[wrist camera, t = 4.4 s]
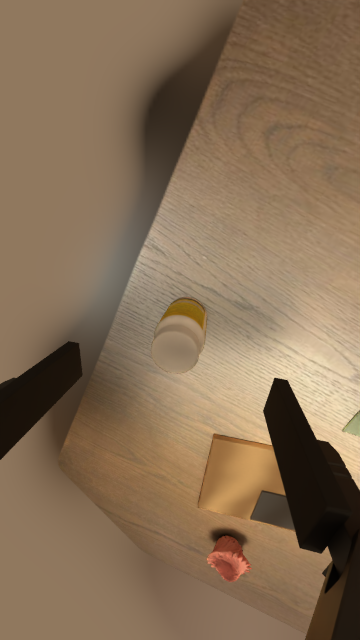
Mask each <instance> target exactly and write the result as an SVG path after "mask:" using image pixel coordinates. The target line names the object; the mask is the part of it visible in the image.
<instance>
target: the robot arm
mask: <svg viewBox="0 0 360 640" xmlns="http://www.w3.org/2000/svg"><path fill="white" fill-rule="evenodd" d="M81 376H82V368H81V358H80V349H79V343H75V342H67V343H66V344H64V345H63V346H62V347H60V348H59V349H57V350H56V351H54V352H53V353H52V354H50V355H49V356H47V357H46V358H44V359H43V360H42V361H40V362H39V363H38V364H36V365H35V366H33V367H32V368H31V369H29V370H27V371H26V372H25V373H23V374H22V375H20V376H19V377H18V378H12V379H10V380H7V381H5V382H3V383H1V384H0V460H1V459H2V458H3V457H4V456H5V455H6V454H7V452H8V451H9V450H10V449H11V448H12V447H13V446H14V445H15V444H16V443H17V442H18V441H19V440H20V439H21V438H22V437H23V436H24V435H25V434H26V433H27V432H28V431H29V430H30V429H31V428H32V427H33V426H34V425H35V424H36V423H37V422H38V421H39V420H40V419H41V417H43V415H44V414H45V413H46V412H47V411H48V410H49V409H50V408H51V407H52V406H53V405H54V404H55V403H56V402H57V401H58V400H59V399H60V398H61V397H62V396H63V395H64V394H65V393H66V392H67V391H68V390H69V389H70V388H71V387H72V386H73V385H74V384H75V383H76V382H77V380H78V379H79V378H80V377H81ZM263 412H264V416H265V419H266V423H267V427H268V431H269V434H270V438H271V442H272V446H273V449H274V453H275V457H276V461H277V464H278V468H279V472H280V476H281V479H282V483H283V487H284V491H285V494H286V498H287V502H288V506H289V509H290V513H291V517H292V521H293V524H294V528H295V532H296V536H297V539H298V543H299V547H300V548H302V549H306V550H309V551H313V552H317V553H321V554H322V552H323V551H324V550H325V548H326V547H327V546H328V549H329V551H330V554H331V557H332V562H331V563H330V564H329V565H328V566H327V568H326V569H325V570H324V571H323V573H322V574H323V575H324V576H325V580H324V583H323V586H322V589H321V593H320V596H319V599H318V602H317V605H316V608H315V611H314V614H313V617H312V620H311V623H310V626H309V629H308V632H307V635H306V639H305V640H360V490H359V489H358V487H357V485H356V483H355V482H354V480H353V479H352V476H351V474H350V473H349V471H348V469H347V468H346V466H345V464H344V462H343V460H342V458H341V457H340V455H339V453H338V452H337V451H336V450H335V449H334V448H333V447H332V446H331V445H330V444H329V442H326V441H321V440H317V439H316V437H315V435H314V433H313V431H312V429H311V427H310V425H309V423H308V421H307V419H306V417H305V415H304V413H303V411H302V409H301V407H300V405H299V403H298V401H297V399H296V397H295V395H294V393H293V391H292V389H291V387H290V384H289V382H288V380H284V379H278V378H274V381H273V384H272V387H271V390H270V393H269V395H268V398H267V401H266V404H265V407H264V410H263Z"/></svg>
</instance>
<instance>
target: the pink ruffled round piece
mask: <svg viewBox="0 0 360 640" xmlns="http://www.w3.org/2000/svg"><path fill="white" fill-rule="evenodd" d="M242 552H243V550H242V546H240V545H239V544H238V542H237V539H234V538H232V536H226V535H225V536H222V538H219V539H218V541H217V542H216V545H215V547H214V550H213V552H212V553H211V554H209V555H208V556H209V557H208V558H207V559H206V560H209V561H208V562H207V563H208V564H212V565H211V567H216V571H219V572H218V573H219V574H221V576H222V578H224V580H226V581H228V582H234V581H236V580H237V579H238V578H239V577H240V575H241V574H245V573H244V572H250V571H248V570H247V569H252V568H250V567H249V566H248V565H251V564H249V563H248V560H247V559H246V558H245V556H244V555H243V553H242Z"/></svg>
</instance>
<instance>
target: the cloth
mask: <svg viewBox="0 0 360 640" xmlns="http://www.w3.org/2000/svg"><path fill="white" fill-rule="evenodd" d="M343 431H344V432H347V433H350V434H354V435H357V436H360V412H358V413H357V414H356V415H355V416H354V418H353V419H352V420H351V421H350V422H349V423H348V424H347V425H346V427H345V428H344V429H343Z"/></svg>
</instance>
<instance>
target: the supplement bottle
mask: <svg viewBox="0 0 360 640" xmlns="http://www.w3.org/2000/svg"><path fill="white" fill-rule="evenodd" d="M206 326H207V313H206V310H205V308H204V306H203V305H202V304H201V303H200V302H199V301H198V300H196V299H194V298H190V297H182V298H179V299H177V300H175V301H174V302H172V303H171V304H170V306H169V307H168V309H167V311H166V312H165V314H164V315H163V317H162V318H161V320H160V322H159V323H158V325H157V327H156V329H155V332H154V340H153V342H152V344H151V356H152V358H153V360H154V362H155V363H156V365H157V366H159V367H160V368H161V369H163V370H164V371H167V372H170V373H177V374H178V373H184V372H187V371H189V370H190V369H192V368H193V367H194V366H195V365H196V363H197V361H198V358H199V354H200V353H201V352H202V350H203V348H204V344H205V336H206Z"/></svg>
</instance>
